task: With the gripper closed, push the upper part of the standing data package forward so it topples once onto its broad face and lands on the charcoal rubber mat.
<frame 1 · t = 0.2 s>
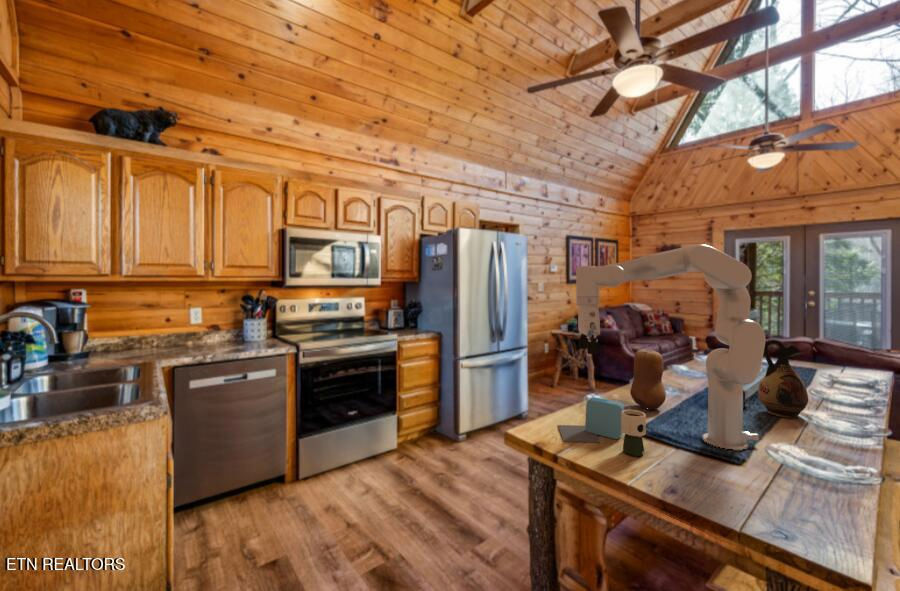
hand: (587, 351, 138), 31 cm above the table, tool pointing down, fingers open, 9 cm apart
data package: (603, 434, 142), on the table, touching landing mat
character mug: (633, 454, 127), on the table
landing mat: (577, 434, 144), on the table
butternut squash: (647, 408, 171), on the table
ceramic jug: (779, 414, 161), on the table
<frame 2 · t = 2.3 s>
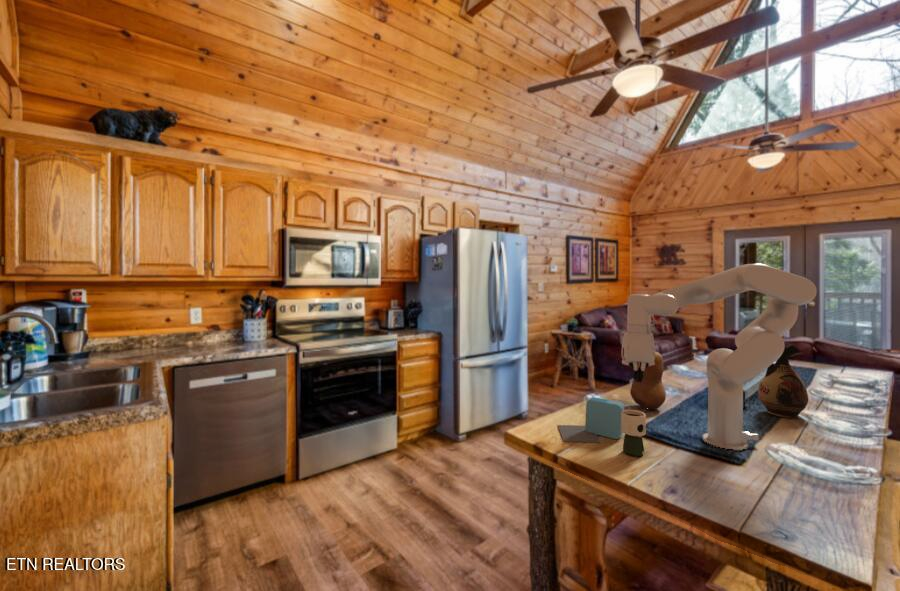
hand: (637, 381, 140), 19 cm above the table, tool pointing down, fingers closed
nothing on the table moved.
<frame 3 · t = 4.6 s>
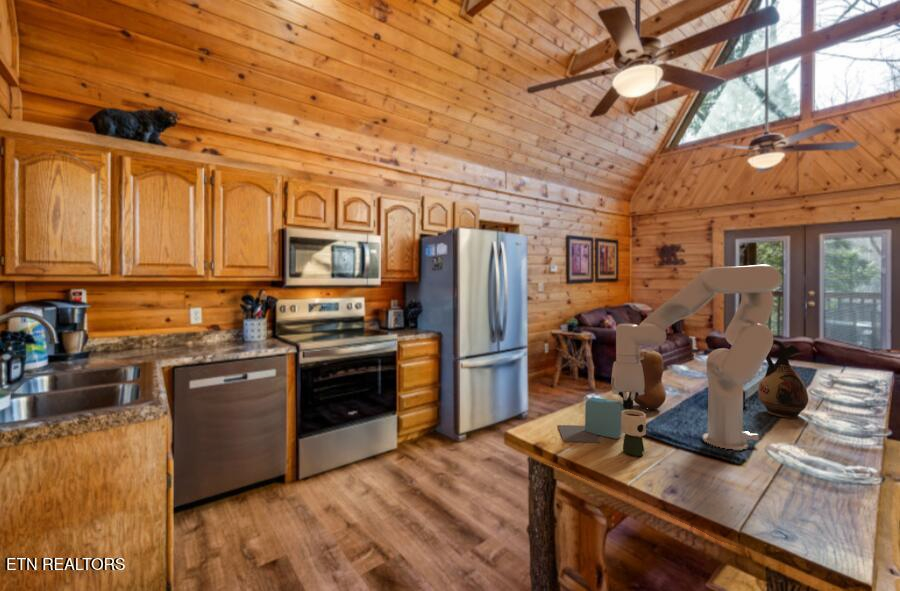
hand: (628, 410, 141), 9 cm above the table, tool pointing down, fingers closed
data package: (603, 434, 142), on the table, touching gripper, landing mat
everything else where it was.
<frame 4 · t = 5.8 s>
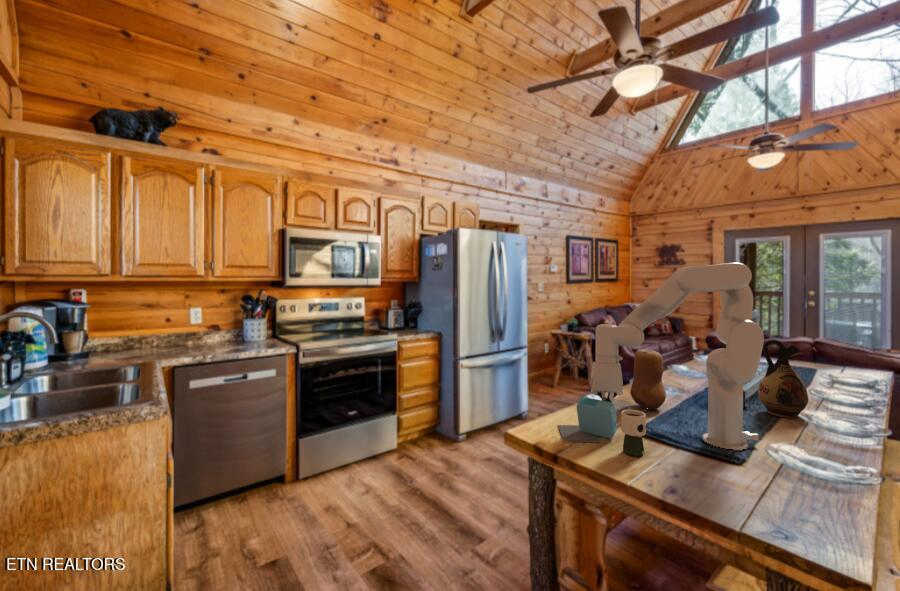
hand: (606, 410, 142), 9 cm above the table, tool pointing down, fingers closed
data package: (598, 432, 143), point 1 cm above the table, touching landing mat
everything else where it was.
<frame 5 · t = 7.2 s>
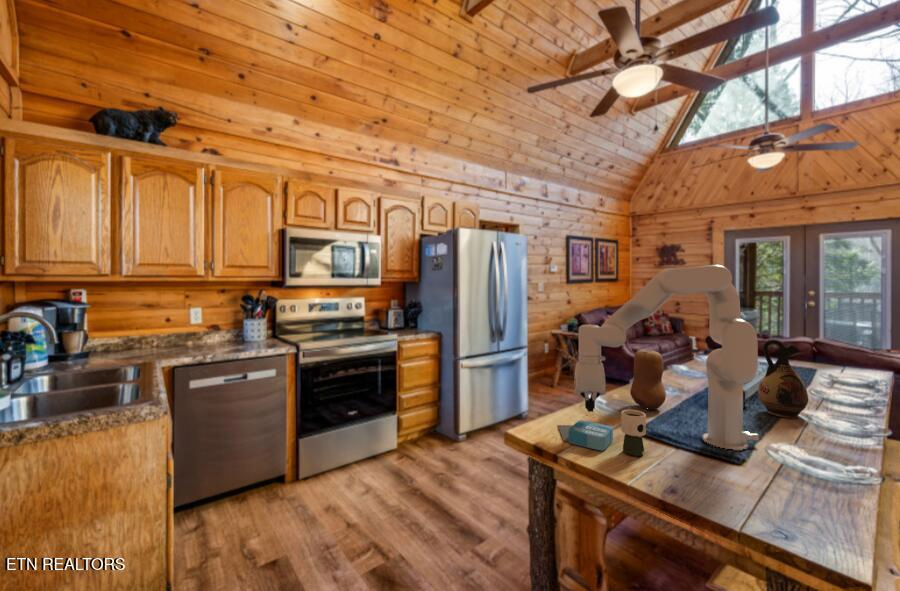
hand: (589, 410, 143), 9 cm above the table, tool pointing down, fingers closed
data package: (596, 429, 141), point 3 cm above the table, touching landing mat
everything else where it was.
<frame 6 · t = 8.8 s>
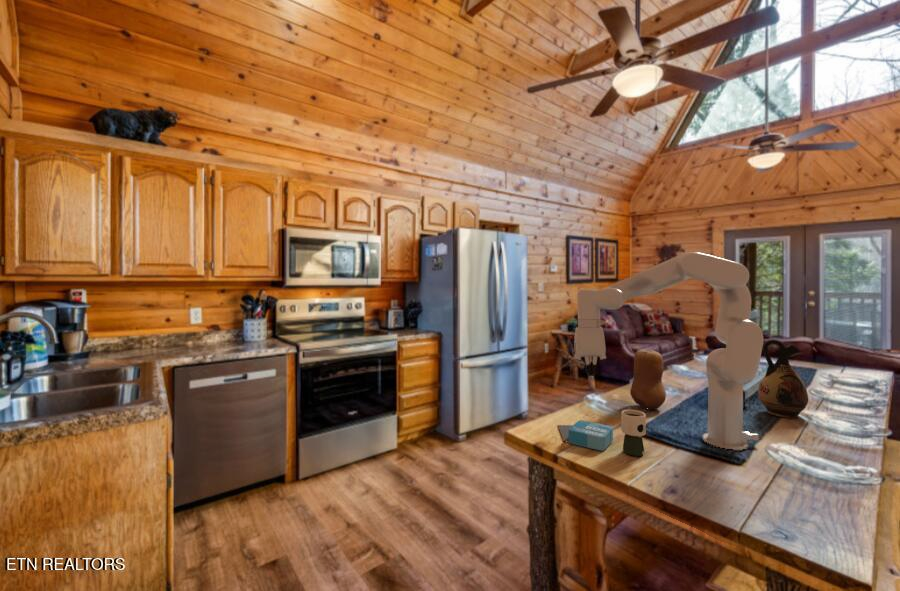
hand: (590, 375, 142), 21 cm above the table, tool pointing down, fingers closed
nothing on the table moved.
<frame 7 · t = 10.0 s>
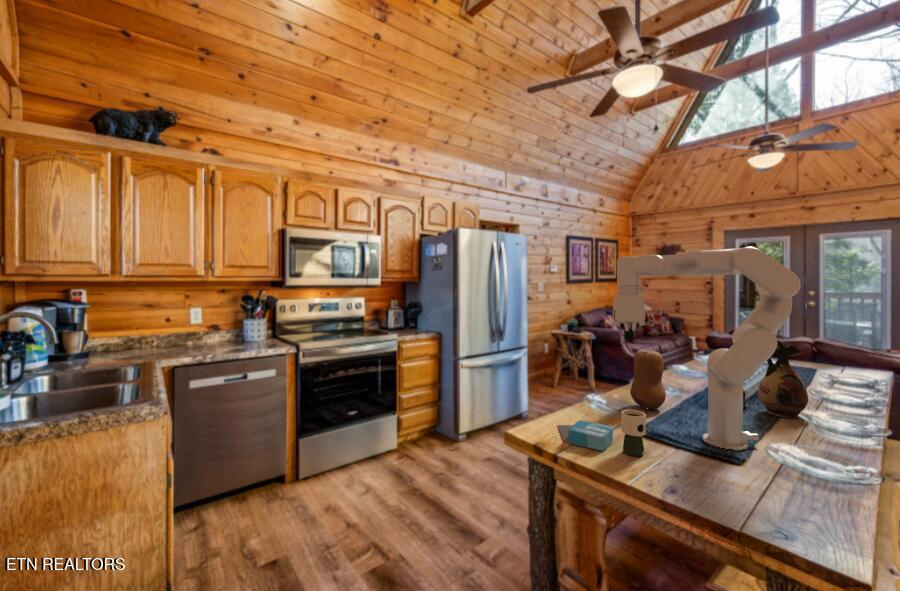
hand: (629, 341, 144), 33 cm above the table, tool pointing down, fingers closed
nothing on the table moved.
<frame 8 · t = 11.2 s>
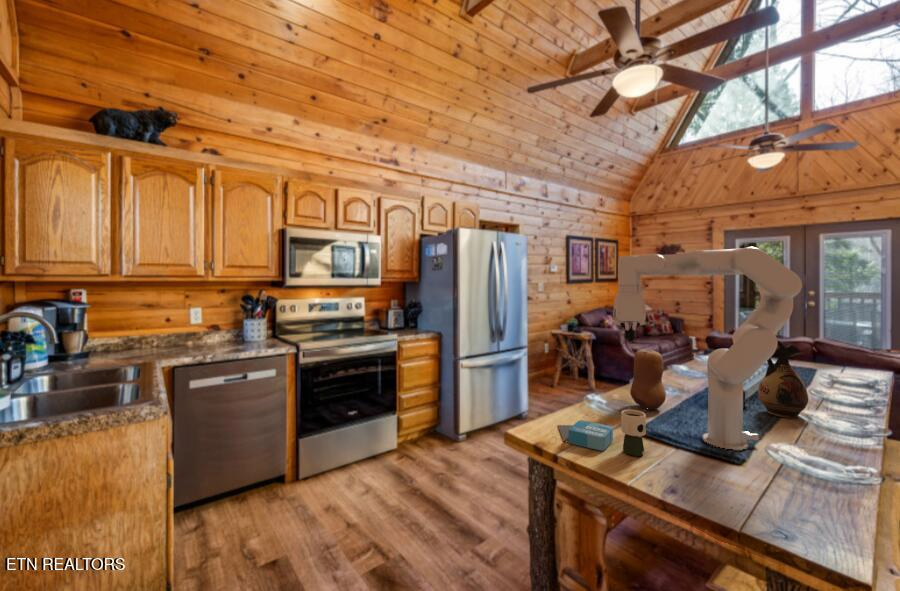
hand: (629, 340, 144), 33 cm above the table, tool pointing down, fingers closed
nothing on the table moved.
at the end: data package tilted 90°; data package touching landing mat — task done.
